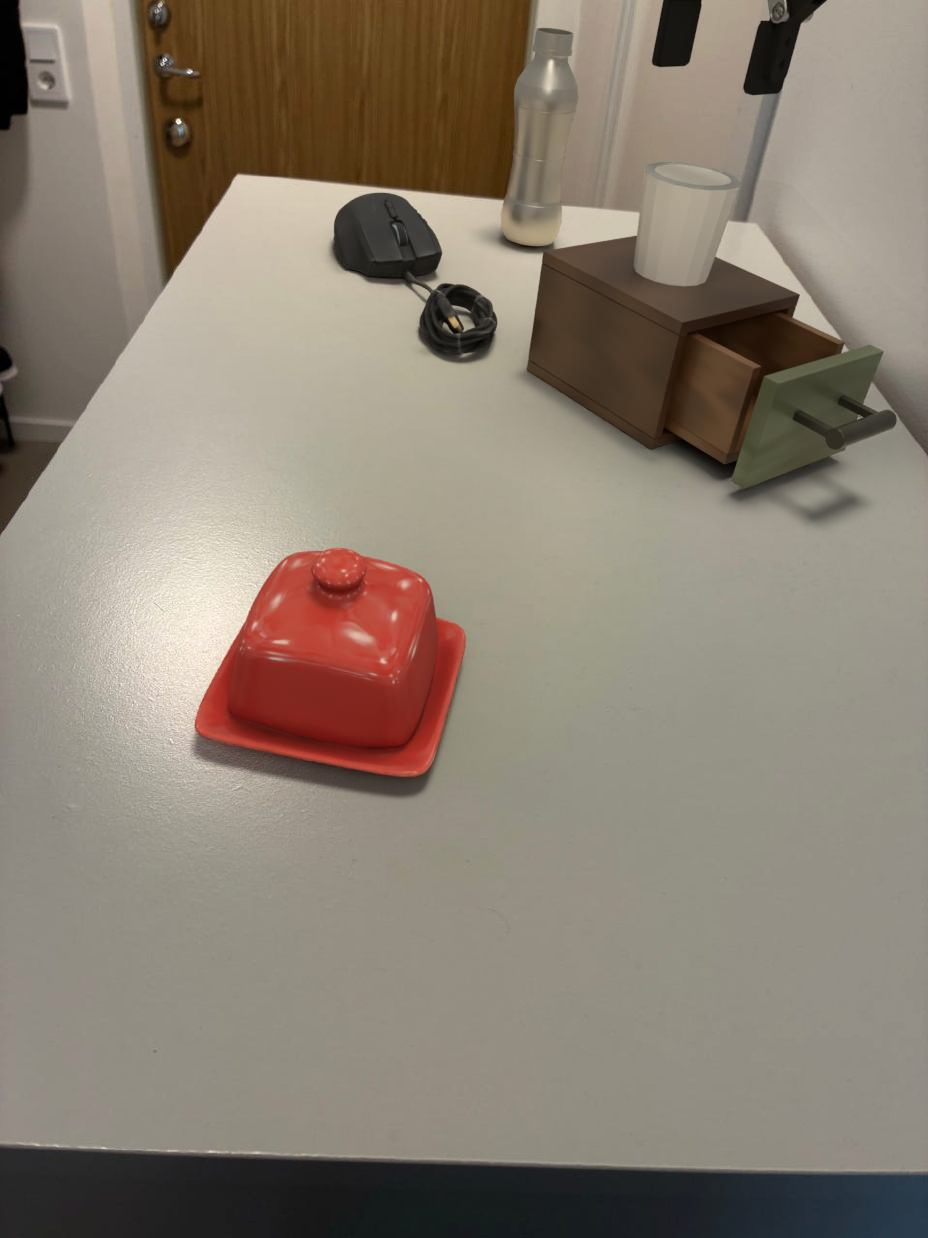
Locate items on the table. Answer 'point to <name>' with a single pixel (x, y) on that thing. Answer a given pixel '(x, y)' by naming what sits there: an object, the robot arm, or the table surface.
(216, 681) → the butter dish
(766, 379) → the drawer
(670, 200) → the white cup
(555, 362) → the cabinet
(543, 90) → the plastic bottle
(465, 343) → the computer mouse
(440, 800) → the table surface
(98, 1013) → the table surface
